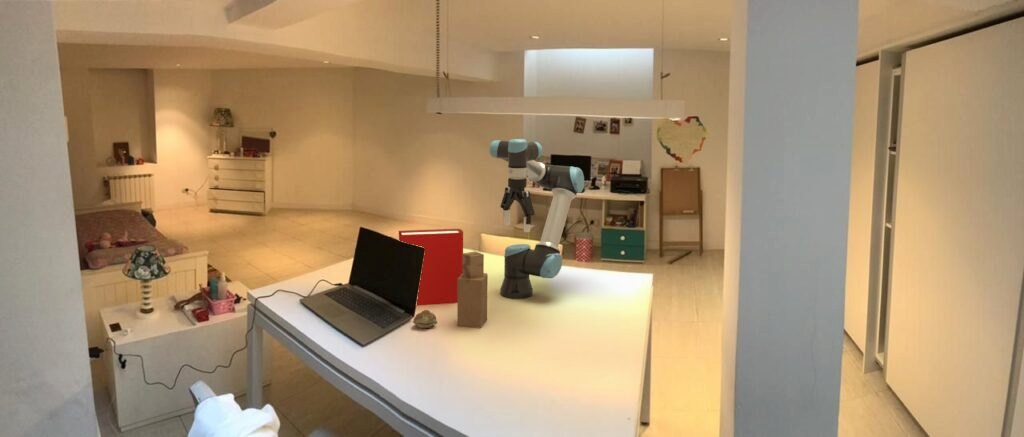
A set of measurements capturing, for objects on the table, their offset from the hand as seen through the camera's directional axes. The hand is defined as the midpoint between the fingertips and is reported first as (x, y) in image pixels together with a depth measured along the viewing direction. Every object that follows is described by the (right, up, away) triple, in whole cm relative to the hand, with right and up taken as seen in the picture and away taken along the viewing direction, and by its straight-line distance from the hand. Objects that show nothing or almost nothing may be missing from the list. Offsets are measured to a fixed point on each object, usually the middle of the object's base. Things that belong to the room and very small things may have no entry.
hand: (516, 228), depth 258 cm
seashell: (-37, -39, -9) cm, 54 cm away
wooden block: (-18, -38, -4) cm, 43 cm away
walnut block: (-18, -19, -8) cm, 27 cm away
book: (-38, -33, +21) cm, 54 cm away
